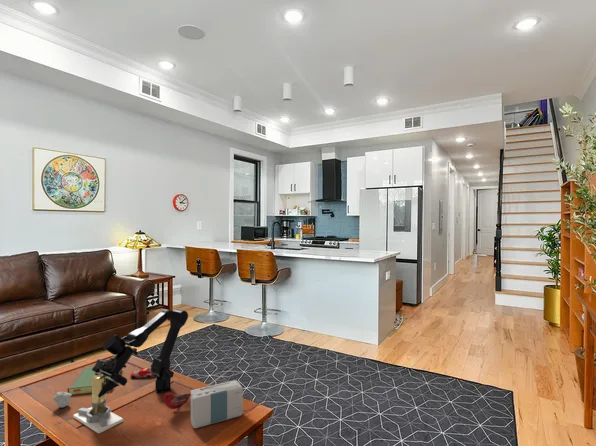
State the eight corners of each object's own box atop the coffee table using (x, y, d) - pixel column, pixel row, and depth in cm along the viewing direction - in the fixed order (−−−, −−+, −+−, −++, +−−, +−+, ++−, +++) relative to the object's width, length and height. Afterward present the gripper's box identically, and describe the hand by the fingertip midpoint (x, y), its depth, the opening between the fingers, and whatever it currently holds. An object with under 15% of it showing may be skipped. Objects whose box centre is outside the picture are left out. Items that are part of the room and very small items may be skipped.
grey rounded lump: (51, 407, 157) (51, 392, 157) (69, 401, 163) (69, 386, 163) (55, 412, 153) (55, 396, 153) (73, 406, 159) (73, 390, 158)
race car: (128, 379, 186) (128, 371, 186) (132, 374, 191) (132, 367, 191) (154, 378, 186) (154, 371, 186) (157, 374, 192) (157, 367, 192)
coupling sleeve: (108, 406, 151) (108, 374, 151) (102, 413, 146) (101, 380, 145) (95, 407, 151) (95, 374, 151) (88, 414, 146) (88, 380, 145)
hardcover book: (84, 374, 192) (84, 367, 192) (122, 370, 197) (122, 363, 197) (67, 397, 168) (67, 389, 168) (110, 392, 172) (110, 384, 172)
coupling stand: (97, 407, 158) (97, 398, 158) (123, 421, 147) (122, 412, 147) (73, 417, 150) (73, 408, 150) (98, 433, 139) (98, 424, 139)
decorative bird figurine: (160, 417, 151) (160, 394, 150) (196, 401, 164) (196, 379, 164) (163, 419, 149) (163, 396, 148) (199, 403, 162) (199, 381, 162)
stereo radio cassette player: (193, 431, 141) (193, 381, 140) (189, 421, 148) (189, 373, 148) (243, 417, 151) (243, 371, 150) (237, 408, 158) (237, 363, 158)
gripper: (96, 346, 156) (69, 381, 147) (120, 355, 146) (92, 393, 137) (113, 358, 163) (89, 391, 154) (137, 367, 153) (113, 404, 144)
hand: (95, 395), depth 147 cm, fingers closed on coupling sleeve, 5 cm apart
